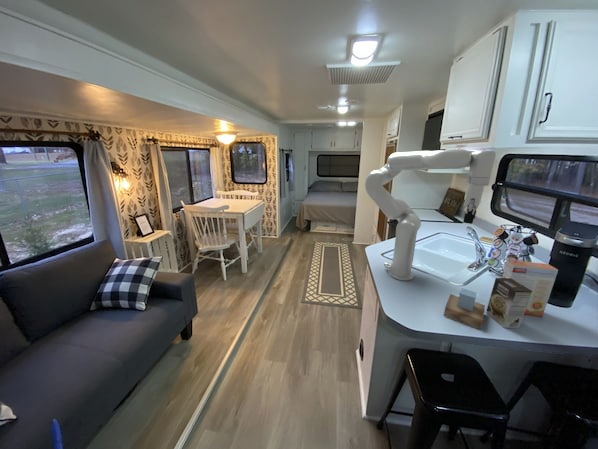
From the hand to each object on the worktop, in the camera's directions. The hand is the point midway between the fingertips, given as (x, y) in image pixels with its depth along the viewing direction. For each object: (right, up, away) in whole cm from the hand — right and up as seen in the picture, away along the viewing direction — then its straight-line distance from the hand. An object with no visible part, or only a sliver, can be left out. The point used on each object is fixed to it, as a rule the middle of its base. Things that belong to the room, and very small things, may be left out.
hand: (468, 220), depth 103 cm
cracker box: (+17, -37, -4) cm, 41 cm away
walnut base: (-8, -38, -8) cm, 40 cm away
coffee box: (+5, -39, -11) cm, 41 cm away
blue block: (-8, -34, -9) cm, 36 cm away
